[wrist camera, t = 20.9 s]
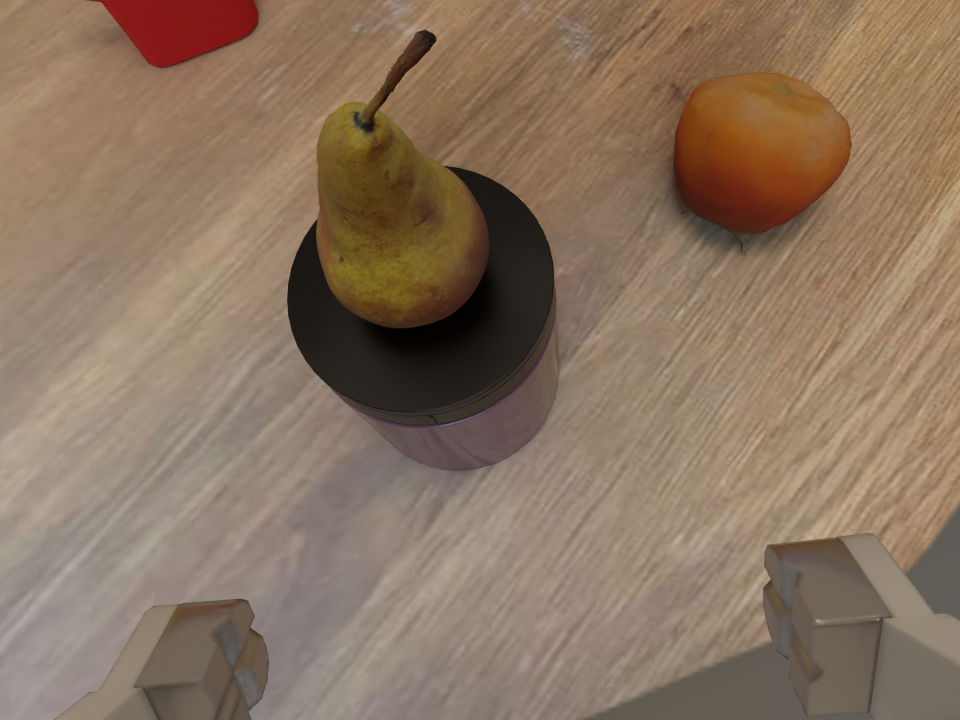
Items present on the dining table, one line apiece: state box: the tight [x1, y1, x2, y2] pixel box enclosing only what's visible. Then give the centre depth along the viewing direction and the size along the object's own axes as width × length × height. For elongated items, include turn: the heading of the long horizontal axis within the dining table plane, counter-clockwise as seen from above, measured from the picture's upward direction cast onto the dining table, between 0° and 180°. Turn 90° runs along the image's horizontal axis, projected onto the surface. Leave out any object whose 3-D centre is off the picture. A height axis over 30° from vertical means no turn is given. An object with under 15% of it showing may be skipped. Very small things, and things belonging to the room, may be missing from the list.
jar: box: [330, 284, 559, 471], centre depth 31 cm, size 10×10×10 cm
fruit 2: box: [674, 73, 852, 254], centre depth 35 cm, size 8×8×8 cm
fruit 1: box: [316, 30, 490, 328], centre depth 20 cm, size 6×6×12 cm
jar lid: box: [287, 166, 555, 426], centre depth 27 cm, size 10×10×2 cm
